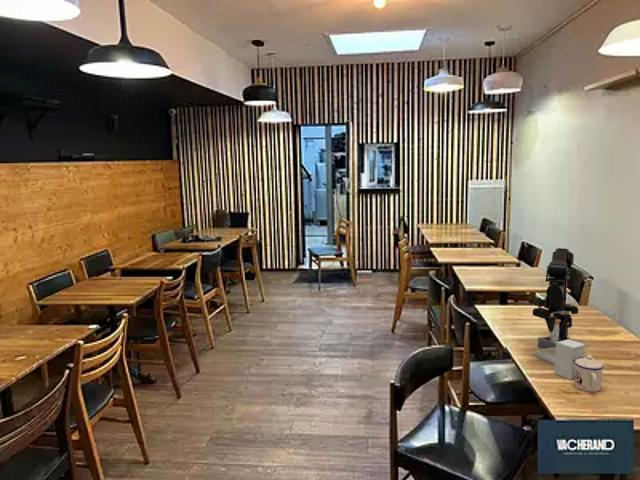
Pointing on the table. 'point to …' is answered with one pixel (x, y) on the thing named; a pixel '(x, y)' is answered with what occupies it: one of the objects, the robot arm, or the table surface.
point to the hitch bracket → (546, 342)
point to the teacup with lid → (588, 374)
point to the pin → (555, 331)
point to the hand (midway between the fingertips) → (554, 331)
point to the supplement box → (567, 357)
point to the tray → (546, 355)
